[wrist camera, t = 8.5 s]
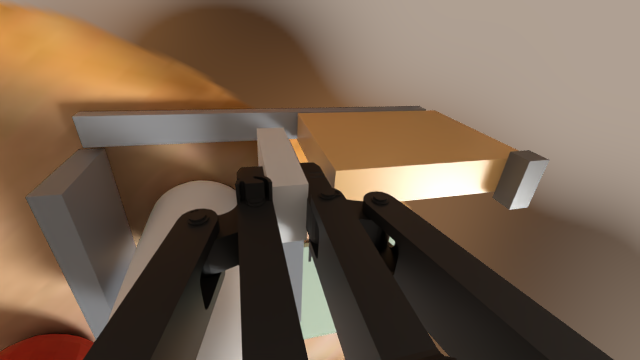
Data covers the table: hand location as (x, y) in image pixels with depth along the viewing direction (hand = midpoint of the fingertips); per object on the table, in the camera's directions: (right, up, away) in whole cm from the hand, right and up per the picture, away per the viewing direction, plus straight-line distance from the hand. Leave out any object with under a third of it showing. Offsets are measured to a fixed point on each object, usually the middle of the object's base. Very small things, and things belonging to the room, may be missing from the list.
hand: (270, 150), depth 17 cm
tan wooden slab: (+7, +3, +5) cm, 9 cm away
